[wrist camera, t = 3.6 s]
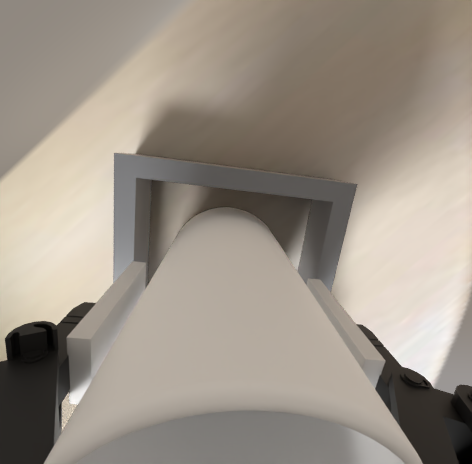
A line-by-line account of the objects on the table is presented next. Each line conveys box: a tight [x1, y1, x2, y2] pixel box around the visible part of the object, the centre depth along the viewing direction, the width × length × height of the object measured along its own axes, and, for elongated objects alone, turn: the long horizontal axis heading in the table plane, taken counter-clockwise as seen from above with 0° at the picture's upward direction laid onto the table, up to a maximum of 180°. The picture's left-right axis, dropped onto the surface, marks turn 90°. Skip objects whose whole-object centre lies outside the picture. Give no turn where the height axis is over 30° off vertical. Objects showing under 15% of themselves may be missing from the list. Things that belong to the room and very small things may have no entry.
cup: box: [44, 207, 423, 464], centre depth 13 cm, size 8×8×16 cm
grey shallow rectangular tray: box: [113, 153, 357, 292], centre depth 20 cm, size 14×22×4 cm, turn 173°
